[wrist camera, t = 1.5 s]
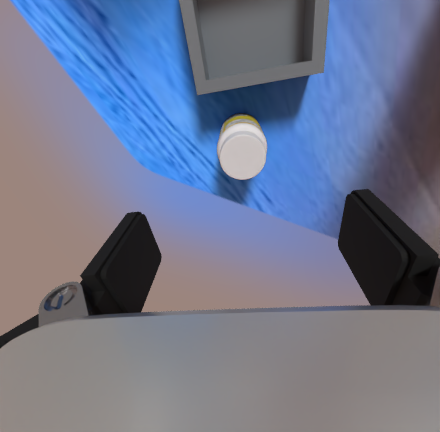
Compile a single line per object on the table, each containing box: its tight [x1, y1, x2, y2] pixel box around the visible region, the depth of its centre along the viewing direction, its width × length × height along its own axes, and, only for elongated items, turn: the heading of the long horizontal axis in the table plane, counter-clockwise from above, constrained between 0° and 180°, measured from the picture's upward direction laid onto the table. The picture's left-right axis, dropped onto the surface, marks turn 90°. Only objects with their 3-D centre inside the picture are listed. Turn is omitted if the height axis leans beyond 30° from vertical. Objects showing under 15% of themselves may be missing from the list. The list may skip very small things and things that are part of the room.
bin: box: [179, 0, 329, 95], centre depth 18 cm, size 11×10×4 cm
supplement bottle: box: [217, 113, 267, 180], centre depth 22 cm, size 5×5×8 cm
